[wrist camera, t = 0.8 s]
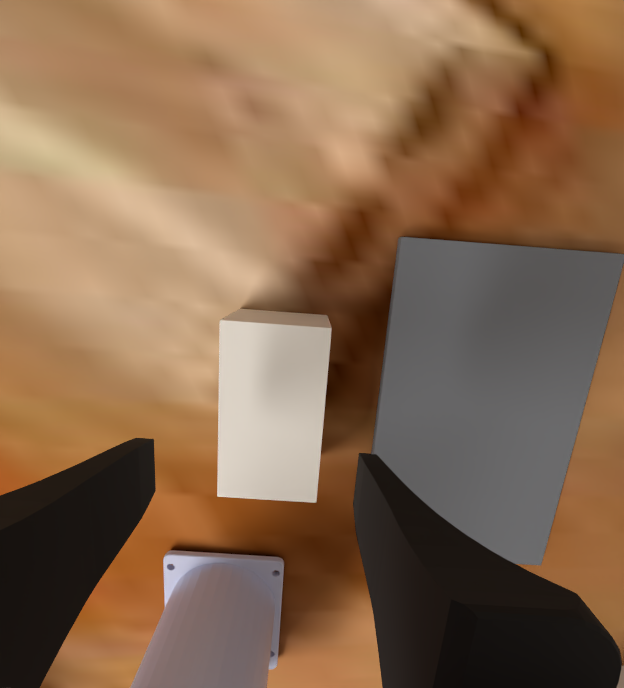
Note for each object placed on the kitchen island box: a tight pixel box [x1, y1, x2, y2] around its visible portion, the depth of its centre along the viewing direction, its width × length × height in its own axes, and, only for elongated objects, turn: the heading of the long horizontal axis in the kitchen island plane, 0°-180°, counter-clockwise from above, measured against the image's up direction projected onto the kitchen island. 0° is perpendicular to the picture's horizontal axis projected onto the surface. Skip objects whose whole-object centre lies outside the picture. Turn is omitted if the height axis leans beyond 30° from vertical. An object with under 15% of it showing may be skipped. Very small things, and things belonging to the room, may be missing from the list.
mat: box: [371, 237, 624, 565], centre depth 20 cm, size 20×12×1 cm, turn 176°
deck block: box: [217, 309, 332, 503], centre depth 18 cm, size 9×5×4 cm, turn 176°
